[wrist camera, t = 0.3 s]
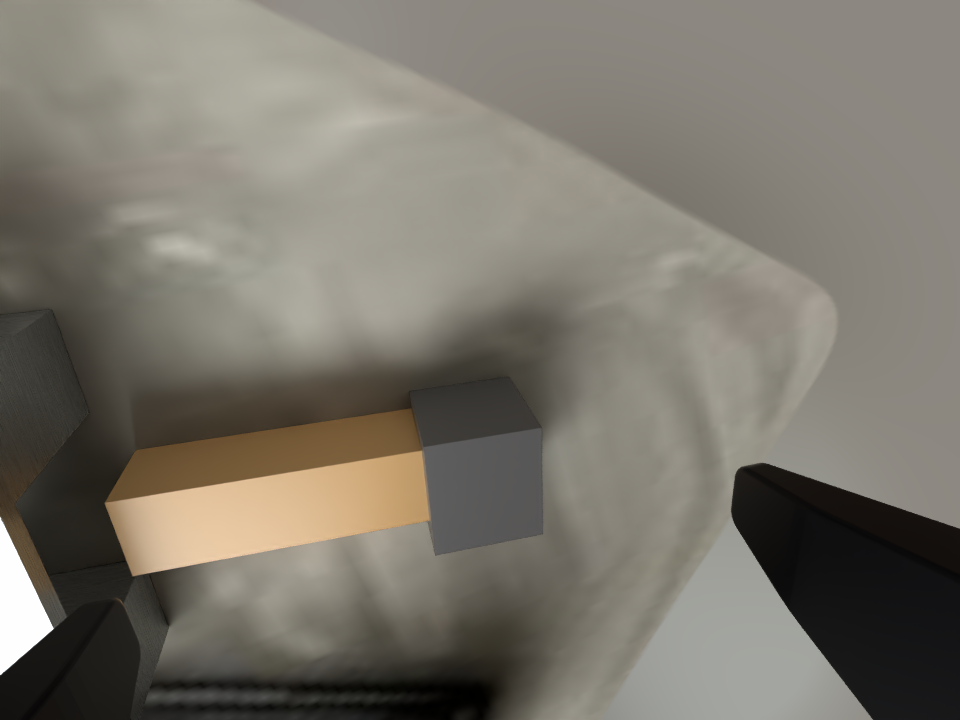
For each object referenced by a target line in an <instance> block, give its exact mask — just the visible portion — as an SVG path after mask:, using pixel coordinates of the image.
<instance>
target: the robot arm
mask: <svg viewBox="0 0 960 720" xmlns="http://www.w3.org/2000/svg"><path fill="white" fill-rule="evenodd" d="M731 513H732V518H733V521H734V524H735V526H736V527H737V529H738V531H739V532H740V534H741V535H742V537H743V539H744V540H745V542H746V543H747V545H748V547H749V548H750V550H751V551H752V553H753V554H754V556H755V558H756V559H757V561H758V562H759V564H760V566H761V567H762V569H763V570H764V572H765V573H766V575H767V577H768V578H769V580H770V581H771V583H772V584H773V586H774V588H775V589H776V591H777V592H778V594H779V596H780V597H781V599H782V600H783V601H784V603H785V605H786V606H787V608H788V609H789V611H790V612H791V613H792V615H793V616H794V617H795V619H796V620H797V621H798V623H799V624H800V625H801V627H802V628H803V629H804V631H805V632H806V633H807V634H808V636H809V637H810V638H811V640H812V641H813V642H814V644H815V645H816V646H817V647H818V649H819V650H820V651H821V653H822V654H823V655H824V656H825V658H826V659H827V660H828V662H829V663H830V664H831V666H832V667H833V668H834V669H835V671H836V672H837V673H838V675H839V676H840V677H841V679H842V680H843V681H844V682H845V684H846V685H847V686H848V688H849V689H850V690H851V692H852V693H853V694H854V695H855V697H856V698H857V699H858V701H859V702H860V703H861V704H862V706H863V707H864V708H865V710H866V711H867V712H868V713H869V715H870V716H871V718H872V719H873V720H960V529H959V528H956V527H953V526H950V525H947V524H944V523H941V522H938V521H935V520H932V519H929V518H926V517H923V516H920V515H918V514H914V513H912V512H908V511H906V510H903V509H900V508H897V507H894V506H891V505H888V504H885V503H882V502H879V501H876V500H873V499H870V498H867V497H864V496H861V495H858V494H855V493H852V492H850V491H846V490H844V489H841V488H837V487H835V486H832V485H829V484H826V483H823V482H820V481H817V480H814V479H811V478H808V477H805V476H802V475H799V474H796V473H793V472H790V471H787V470H784V469H781V468H778V467H776V466H772V465H770V464H766V463H757V464H753V465H748V466H743V467H741V468H739V469H738V470H737V472H736V474H735V481H734V489H733V498H732V506H731ZM140 659H141V649H140V643H139V640H138V637H137V635H136V632H135V630H134V628H133V625H132V623H131V621H130V618H129V616H128V613H127V611H126V609H125V606H124V604H123V603H122V601H121V600H120V599H118V598H107V599H102V600H98V601H93V602H88V603H85V604H83V605H81V606H79V607H78V608H77V609H76V610H74V611H73V612H72V613H71V614H70V615H69V616H67V617H66V618H65V619H64V620H63V621H62V622H61V623H59V624H58V625H57V626H56V627H55V628H54V629H52V630H51V631H50V632H49V633H48V634H47V635H46V636H44V637H43V638H42V639H41V640H40V641H39V642H37V643H36V644H35V645H34V646H33V647H32V648H31V649H29V650H28V651H27V652H26V653H25V654H24V655H22V656H21V657H20V658H19V659H18V660H17V661H16V662H14V663H13V664H12V665H11V666H10V667H9V668H8V669H6V670H5V671H4V672H3V673H2V674H1V675H0V720H130V717H131V711H132V705H133V700H134V694H135V688H136V683H137V677H138V671H139V666H140Z"/></svg>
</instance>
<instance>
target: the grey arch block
mask: <svg viewBox="0 0 960 720" xmlns="http://www.w3.org/2000/svg"><path fill="white" fill-rule="evenodd" d="M88 414H89V410H88V407H87V405H86V402H85V399H84V396H83V394H82V391H81V388H80V386H79V383H78V380H77V377H76V375H75V372H74V369H73V366H72V364H71V361H70V358H69V356H68V353H67V350H66V347H65V345H64V342H63V339H62V337H61V334H60V331H59V328H58V326H57V323H56V320H55V317H54V315H53V312H52V310H42V311H33V312H24V313H15V314H6V315H0V675H1V674H2V673H3V672H4V671H5V670H6V669H8V668H9V667H10V666H11V665H12V664H13V663H14V662H16V661H17V660H18V659H19V658H20V657H21V656H22V655H24V654H25V653H26V652H27V651H28V650H29V649H31V648H32V647H33V646H34V645H35V644H36V643H37V642H39V641H40V640H41V639H42V638H43V637H44V636H46V635H47V634H48V633H49V632H50V631H51V630H52V629H54V628H55V627H56V626H57V625H58V624H59V623H61V622H62V621H63V620H64V619H65V618H66V617H67V616H69V615H70V614H71V613H72V612H73V611H74V610H76V609H77V608H78V607H79V606H81V605H83V604H85V603H88V602H93V601H98V600H102V599H107V598H118V599H120V600H121V601H122V603H123V604H124V606H125V609H126V611H127V613H128V616H129V618H130V621H131V623H132V625H133V628H134V630H135V632H136V635H137V637H138V640H139V643H140V649H141V659H140V666H139V671H138V677H137V683H136V688H135V694H134V700H133V705H132V711H131V717H130V720H139V719H140V716H141V712H142V709H143V706H144V703H145V700H146V697H147V694H148V691H149V688H150V685H151V682H152V678H153V675H154V672H155V669H156V666H157V663H158V660H159V657H160V654H161V651H162V648H163V645H164V641H165V638H166V635H167V632H168V629H169V628H168V625H167V622H166V619H165V617H164V614H163V611H162V609H161V606H160V603H159V600H158V598H157V595H156V592H155V590H154V587H153V584H152V581H151V579H150V576H149V573H147V574H142V575H137V576H132V573H131V571H130V568H129V566H128V563H127V561H126V562H121V563H115V564H110V565H104V566H99V567H94V568H88V569H83V570H77V571H72V572H66V573H61V574H55V575H50V576H48V574H47V572H46V570H45V568H44V565H43V563H42V561H41V559H40V557H39V554H38V552H37V550H36V548H35V546H34V544H33V541H32V539H31V537H30V535H29V533H28V531H27V528H26V526H25V524H24V522H23V520H22V517H21V515H20V513H19V511H18V509H17V507H16V504H15V503H16V502H17V500H18V499H19V498H20V497H21V495H22V494H23V493H24V492H25V491H26V489H27V488H28V487H29V486H30V484H31V483H32V482H33V481H34V480H35V478H36V477H37V476H38V475H39V473H40V472H41V471H42V470H43V469H44V467H45V466H46V465H47V464H48V462H49V461H50V460H51V459H52V458H53V456H54V455H55V454H56V453H57V451H58V450H59V449H60V448H61V447H62V445H63V444H64V443H65V442H66V440H67V439H68V438H69V437H70V436H71V434H72V433H73V432H74V431H75V429H76V428H77V427H78V426H79V425H80V423H81V422H82V421H83V420H84V418H85V417H86V416H87V415H88Z"/></svg>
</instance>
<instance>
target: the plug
mask: <svg viewBox="0 0 960 720" xmlns="http://www.w3.org/2000/svg"><path fill="white" fill-rule="evenodd" d="M409 393H410V402H411V408H410V409H404V410H397V411H390V412H384V413H377V414H371V415H364V416H357V417H351V418H344V419H338V420H331V421H324V422H318V423H311V424H305V425H298V426H291V427H285V428H278V429H272V430H265V431H258V432H252V433H245V434H239V435H232V436H225V437H219V438H212V439H206V440H199V441H192V442H186V443H179V444H172V445H166V446H159V447H153V448H146V449H139V450H136V451H135V452H134V454H133V456H132V457H131V459H130V461H129V462H128V464H127V466H126V468H125V469H124V471H123V473H122V474H121V476H120V478H119V479H118V481H117V483H116V484H115V486H114V488H113V490H112V491H111V493H110V495H109V496H108V498H107V500H106V501H105V506H106V508H107V511H108V513H109V516H110V519H111V521H112V524H113V526H114V529H115V532H116V534H117V537H118V539H119V542H120V545H121V547H122V550H123V552H124V555H125V558H126V560H127V563H128V566H129V568H130V571H131V573H132V576H137V575H142V574H147V573H153V572H158V571H163V570H169V569H174V568H179V567H185V566H190V565H195V564H201V563H206V562H211V561H217V560H222V559H227V558H233V557H238V556H243V555H249V554H254V553H259V552H265V551H270V550H275V549H281V548H286V547H291V546H297V545H302V544H307V543H313V542H318V541H323V540H329V539H334V538H339V537H345V536H350V535H356V534H361V533H366V532H372V531H377V530H382V529H388V528H393V527H398V526H404V525H409V524H414V523H420V522H425V521H428V525H429V530H430V534H431V539H432V543H433V548H434V552H435V555H440V554H445V553H450V552H455V551H460V550H465V549H470V548H475V547H480V546H485V545H490V544H495V543H501V542H506V541H511V540H516V539H521V538H526V537H531V536H536V535H541V534H543V490H542V427H541V426H540V424H539V423H538V421H537V420H536V418H535V416H534V415H533V413H532V412H531V410H530V409H529V407H528V406H527V404H526V402H525V401H524V399H523V398H522V396H521V395H520V393H519V392H518V390H517V388H516V387H515V385H514V384H513V382H512V381H511V379H510V378H509V377H504V378H497V379H490V380H483V381H477V382H470V383H463V384H456V385H449V386H442V387H435V388H429V389H422V390H415V391H409Z"/></svg>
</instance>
